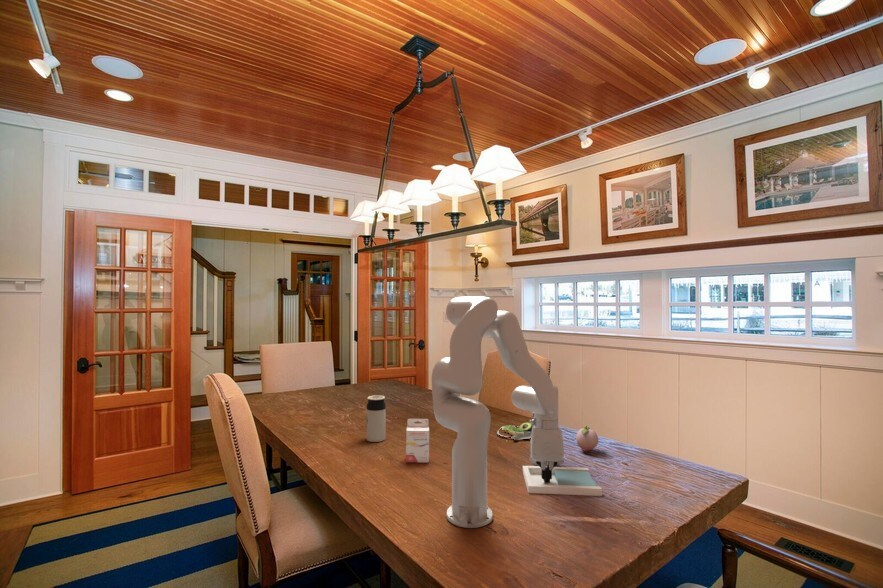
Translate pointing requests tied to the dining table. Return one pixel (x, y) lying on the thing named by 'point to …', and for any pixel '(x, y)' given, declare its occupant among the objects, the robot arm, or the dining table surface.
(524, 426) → the plate of avocado toast
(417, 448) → the ink cartridge box
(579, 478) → the cover plate
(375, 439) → the travel mug
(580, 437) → the decorative fruit
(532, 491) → the white flat tray
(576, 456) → the dining table surface
